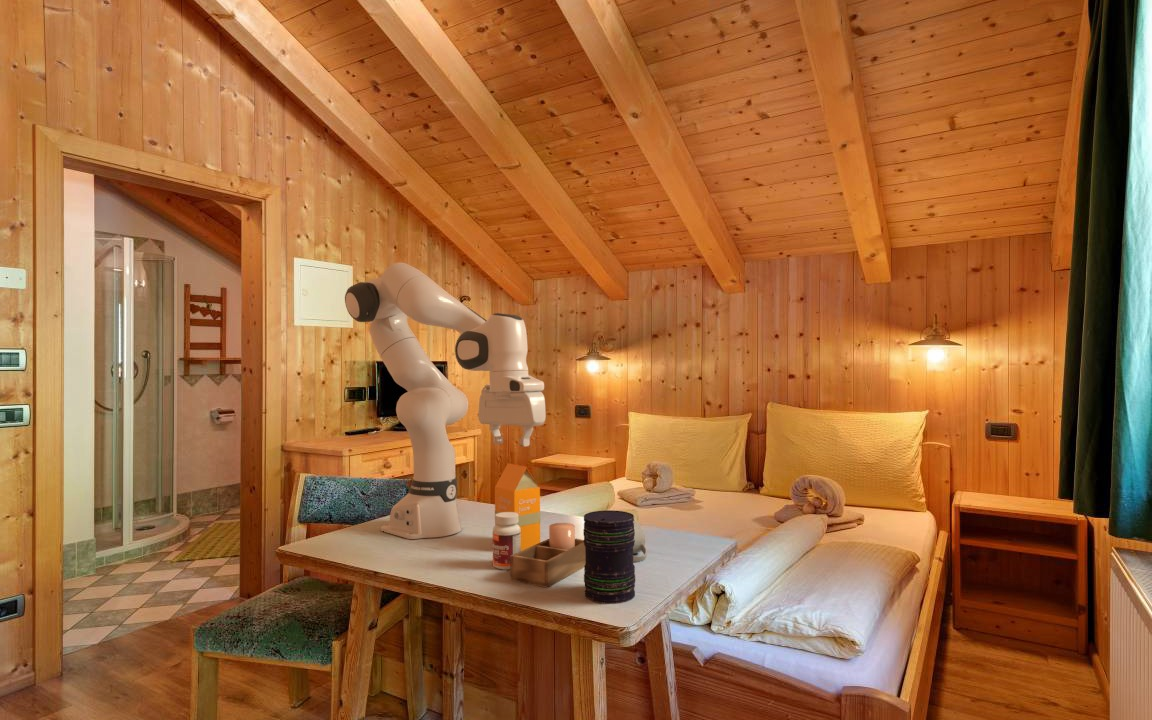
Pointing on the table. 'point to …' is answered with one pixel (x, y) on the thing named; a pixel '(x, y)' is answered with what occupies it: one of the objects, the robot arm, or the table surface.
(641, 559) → the ceramic mug
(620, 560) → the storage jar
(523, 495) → the orange juice
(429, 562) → the table surface
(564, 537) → the orange rounded cylinder
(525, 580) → the caddy
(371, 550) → the table surface
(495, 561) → the pill bottle
